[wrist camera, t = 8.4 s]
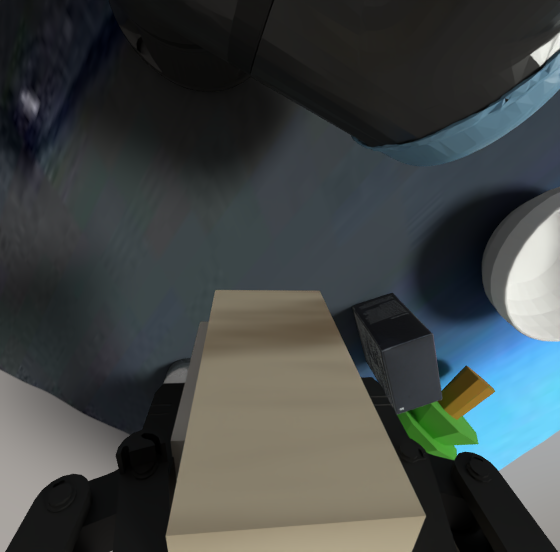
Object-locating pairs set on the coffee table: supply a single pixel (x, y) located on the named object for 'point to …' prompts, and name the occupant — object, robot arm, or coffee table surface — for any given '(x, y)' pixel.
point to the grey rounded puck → (178, 371)
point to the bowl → (527, 267)
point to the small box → (399, 352)
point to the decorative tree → (447, 416)
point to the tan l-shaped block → (286, 440)
